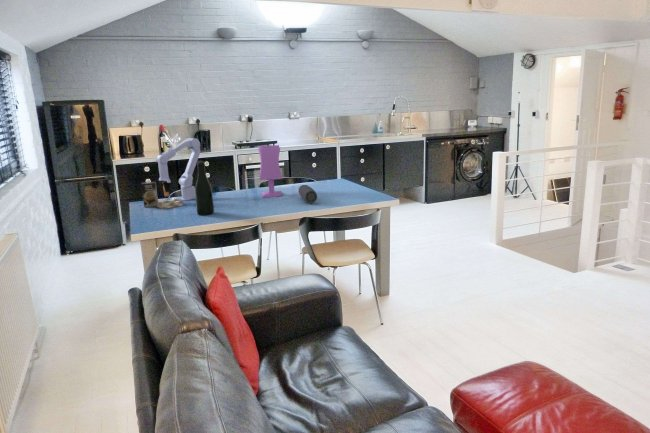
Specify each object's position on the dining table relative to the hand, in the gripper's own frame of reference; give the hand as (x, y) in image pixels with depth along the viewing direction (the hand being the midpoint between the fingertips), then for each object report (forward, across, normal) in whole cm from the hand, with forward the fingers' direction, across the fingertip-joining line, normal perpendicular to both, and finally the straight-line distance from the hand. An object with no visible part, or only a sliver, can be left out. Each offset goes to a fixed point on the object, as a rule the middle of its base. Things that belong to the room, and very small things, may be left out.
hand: (166, 191), depth 326 cm
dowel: (+3, 0, 0) cm, 3 cm away
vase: (+8, +37, +63) cm, 73 cm away
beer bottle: (+8, +50, +3) cm, 51 cm away
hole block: (+8, +11, -3) cm, 14 cm away
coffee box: (+8, 0, -12) cm, 14 cm away
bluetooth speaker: (+8, +73, +67) cm, 99 cm away
